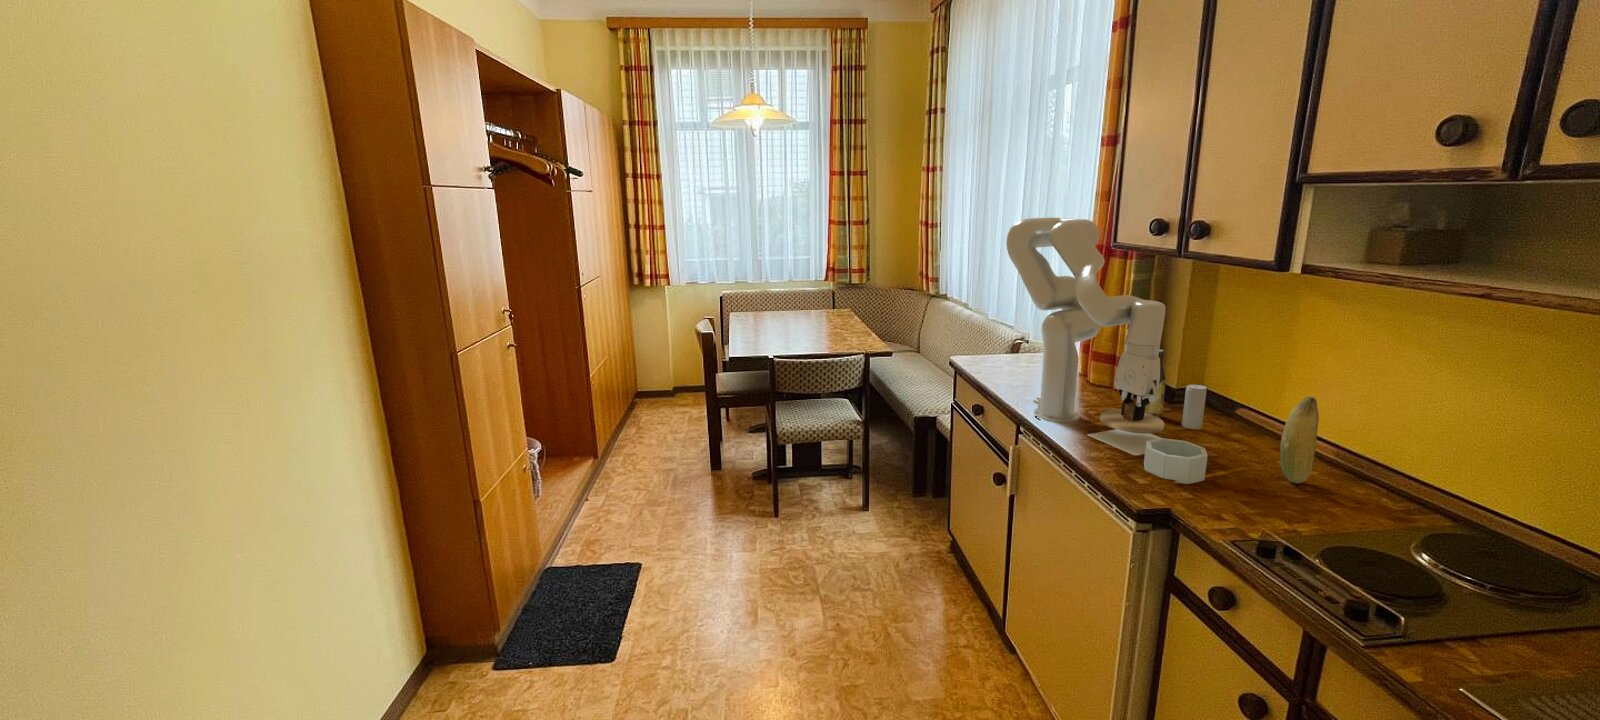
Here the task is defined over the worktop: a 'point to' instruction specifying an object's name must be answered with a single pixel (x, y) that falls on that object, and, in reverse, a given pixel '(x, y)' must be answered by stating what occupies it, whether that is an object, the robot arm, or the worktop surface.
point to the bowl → (1175, 460)
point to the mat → (1125, 440)
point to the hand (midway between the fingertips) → (1132, 416)
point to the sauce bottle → (1157, 406)
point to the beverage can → (1194, 406)
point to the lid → (1131, 420)
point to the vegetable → (1300, 441)
